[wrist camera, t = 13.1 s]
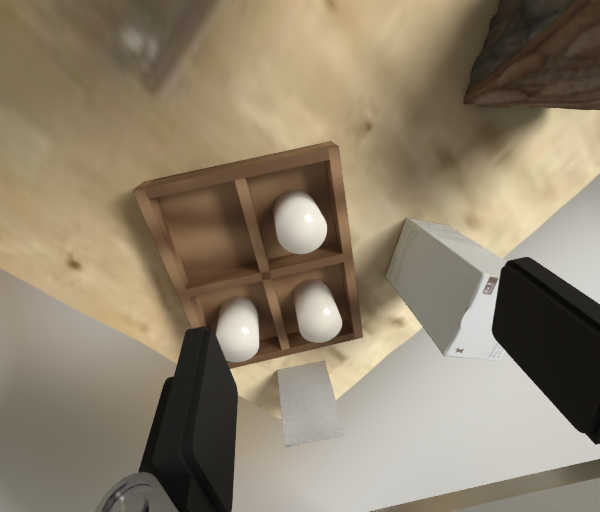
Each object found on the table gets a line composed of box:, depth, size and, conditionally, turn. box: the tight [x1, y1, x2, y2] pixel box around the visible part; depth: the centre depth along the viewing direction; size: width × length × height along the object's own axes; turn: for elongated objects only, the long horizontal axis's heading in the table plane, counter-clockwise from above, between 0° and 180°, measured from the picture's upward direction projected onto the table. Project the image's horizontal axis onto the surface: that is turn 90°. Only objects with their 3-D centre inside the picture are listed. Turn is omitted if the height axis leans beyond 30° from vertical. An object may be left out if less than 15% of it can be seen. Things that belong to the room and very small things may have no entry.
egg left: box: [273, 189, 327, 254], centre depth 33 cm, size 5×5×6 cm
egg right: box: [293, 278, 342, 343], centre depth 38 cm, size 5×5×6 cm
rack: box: [133, 141, 363, 369], centre depth 37 cm, size 23×19×4 cm
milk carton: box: [277, 361, 343, 447], centre depth 43 cm, size 4×7×10 cm, turn 97°
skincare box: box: [386, 218, 507, 361], centre depth 34 cm, size 8×6×15 cm
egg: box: [216, 296, 259, 362], centre depth 37 cm, size 5×5×6 cm
